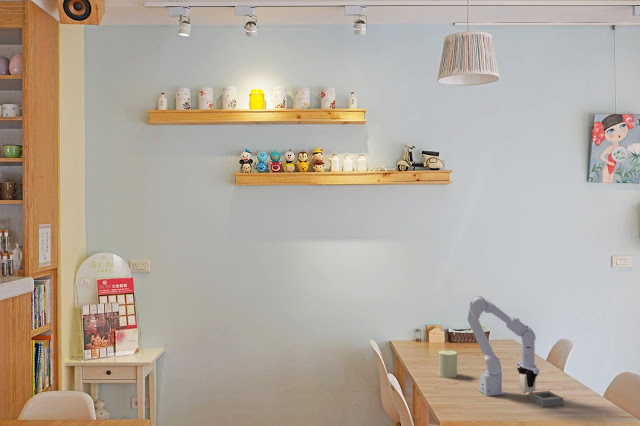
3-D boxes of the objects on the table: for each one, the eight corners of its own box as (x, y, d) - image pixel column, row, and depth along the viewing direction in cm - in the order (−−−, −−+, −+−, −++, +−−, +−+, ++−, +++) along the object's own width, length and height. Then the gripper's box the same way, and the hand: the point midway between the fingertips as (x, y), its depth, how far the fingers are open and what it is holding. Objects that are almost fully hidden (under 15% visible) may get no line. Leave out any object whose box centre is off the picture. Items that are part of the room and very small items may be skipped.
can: (454, 372, 305) (454, 349, 304) (459, 377, 295) (459, 353, 295) (436, 372, 304) (436, 349, 304) (440, 377, 295) (440, 353, 295)
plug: (535, 393, 268) (535, 375, 268) (524, 394, 266) (524, 376, 266) (530, 391, 272) (530, 373, 271) (519, 391, 270) (519, 373, 270)
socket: (563, 405, 256) (563, 397, 256) (542, 407, 253) (542, 399, 253) (548, 397, 265) (548, 390, 265) (528, 399, 263) (528, 392, 263)
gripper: (545, 359, 263) (545, 389, 263) (526, 350, 277) (526, 379, 277) (531, 360, 261) (530, 390, 261) (512, 351, 275) (512, 381, 275)
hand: (527, 385), depth 269 cm, fingers closed on plug, 4 cm apart
